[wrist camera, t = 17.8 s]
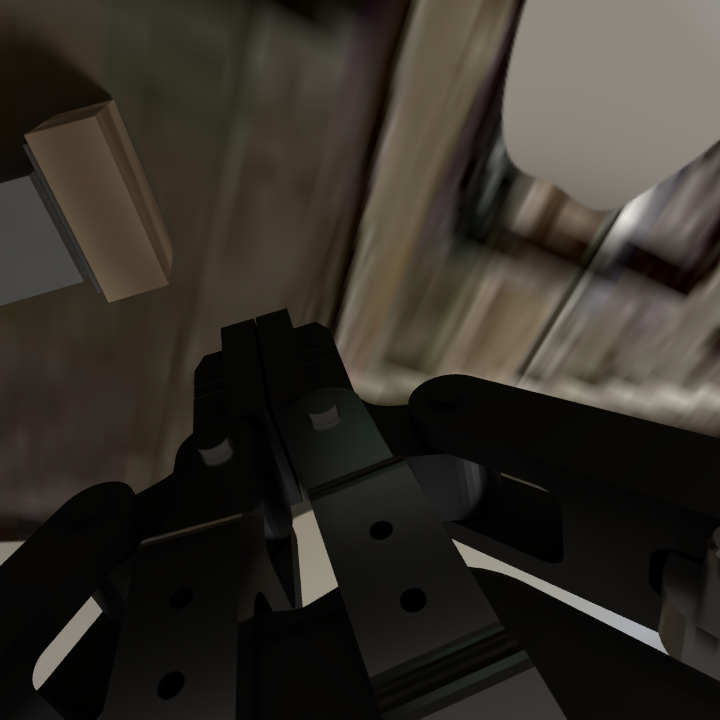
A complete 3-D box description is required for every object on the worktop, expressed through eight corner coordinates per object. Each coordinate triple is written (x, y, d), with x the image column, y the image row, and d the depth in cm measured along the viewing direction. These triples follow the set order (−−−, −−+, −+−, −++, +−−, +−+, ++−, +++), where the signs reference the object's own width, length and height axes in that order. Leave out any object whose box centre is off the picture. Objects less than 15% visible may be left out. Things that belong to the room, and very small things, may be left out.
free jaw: (116, 261, 34) (100, 304, 29) (46, 116, 29) (14, 137, 24) (173, 244, 34) (168, 284, 29) (113, 99, 30) (95, 116, 25)
